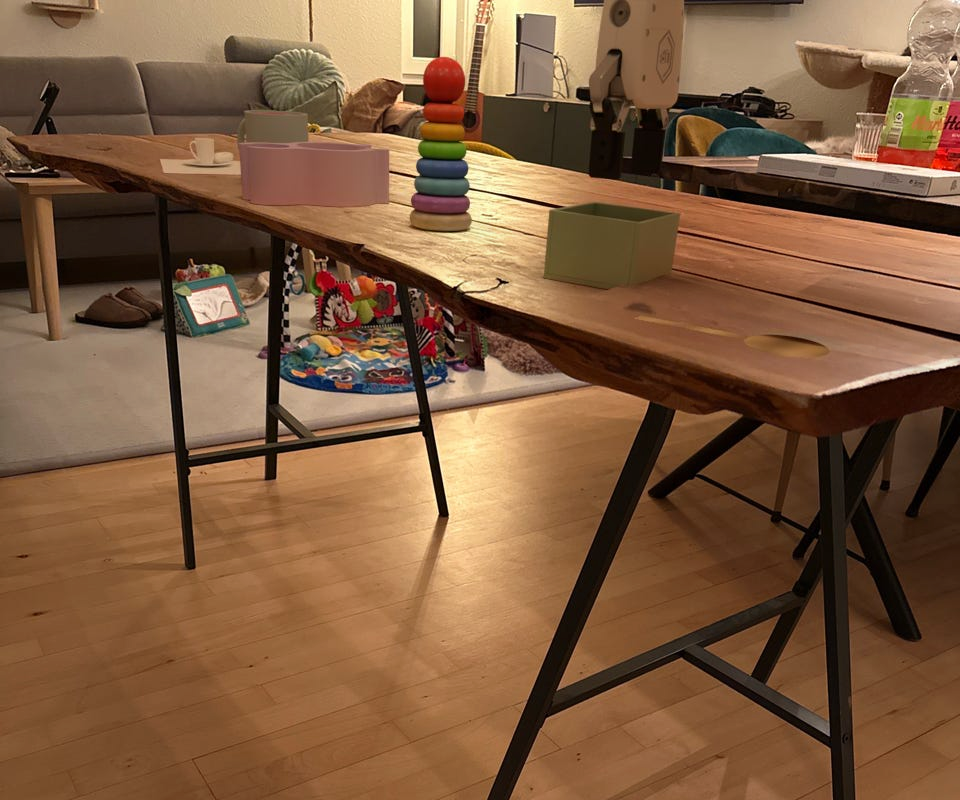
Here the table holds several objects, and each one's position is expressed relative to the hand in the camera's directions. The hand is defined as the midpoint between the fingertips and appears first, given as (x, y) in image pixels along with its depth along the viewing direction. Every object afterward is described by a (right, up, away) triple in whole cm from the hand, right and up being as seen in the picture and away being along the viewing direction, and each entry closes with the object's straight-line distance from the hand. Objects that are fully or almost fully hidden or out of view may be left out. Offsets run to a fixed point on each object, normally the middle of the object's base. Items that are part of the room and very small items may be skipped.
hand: (625, 175), depth 96 cm
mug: (-47, +24, +54) cm, 76 cm away
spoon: (+6, -21, -15) cm, 27 cm away
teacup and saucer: (-59, +35, +70) cm, 98 cm away
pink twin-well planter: (-38, +17, +42) cm, 59 cm away
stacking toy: (-20, +7, +28) cm, 35 cm away
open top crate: (-1, -8, +6) cm, 10 cm away
